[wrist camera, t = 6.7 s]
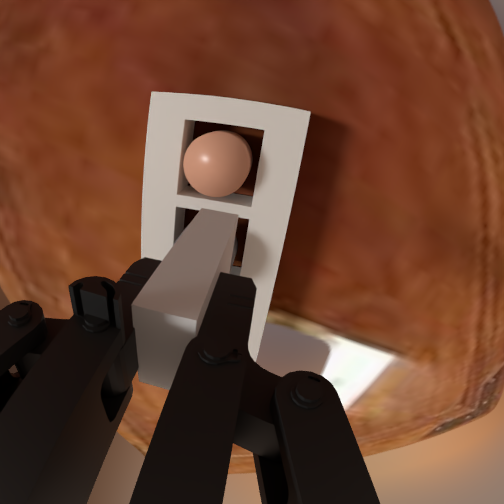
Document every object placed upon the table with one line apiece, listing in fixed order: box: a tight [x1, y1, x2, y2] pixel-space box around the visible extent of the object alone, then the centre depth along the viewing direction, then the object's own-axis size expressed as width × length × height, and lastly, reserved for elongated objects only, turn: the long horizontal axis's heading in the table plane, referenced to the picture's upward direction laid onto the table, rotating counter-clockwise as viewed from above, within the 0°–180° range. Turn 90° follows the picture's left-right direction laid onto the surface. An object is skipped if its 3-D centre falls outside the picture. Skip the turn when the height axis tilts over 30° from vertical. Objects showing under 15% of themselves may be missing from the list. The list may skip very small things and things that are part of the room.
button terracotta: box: [183, 130, 253, 197], centre depth 23 cm, size 5×5×3 cm
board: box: [141, 92, 311, 362], centre depth 27 cm, size 24×12×3 cm, turn 171°
